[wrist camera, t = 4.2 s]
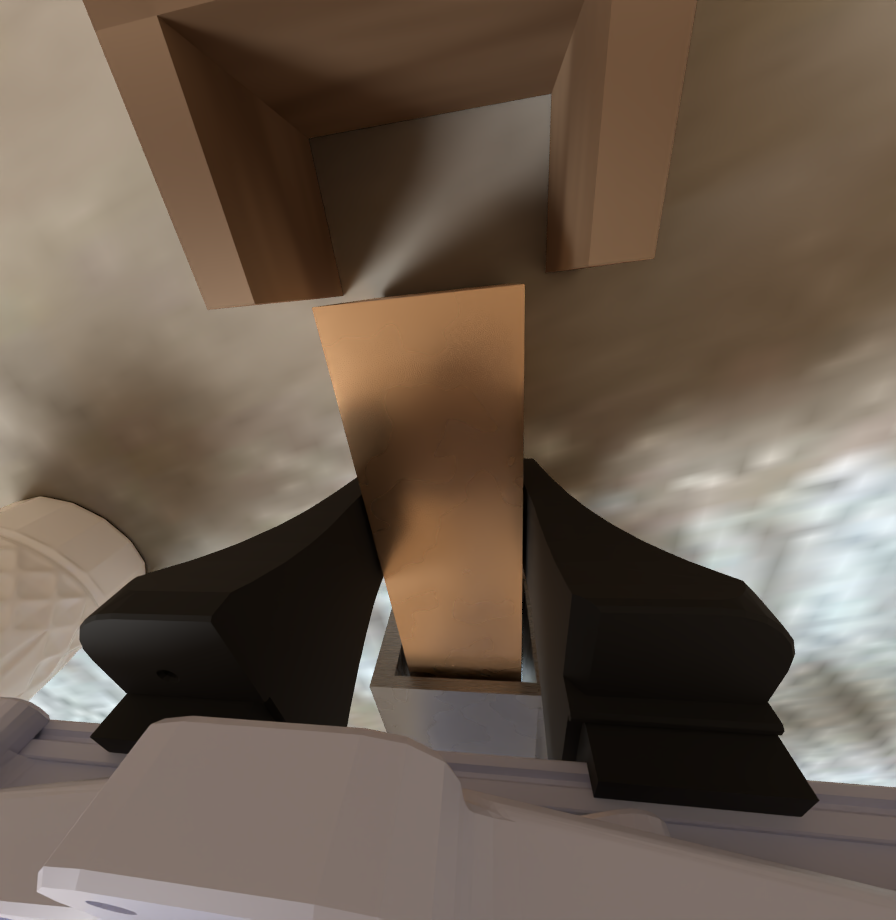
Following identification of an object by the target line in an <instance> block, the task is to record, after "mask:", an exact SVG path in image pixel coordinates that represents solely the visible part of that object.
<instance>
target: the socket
mask: <svg viewBox="0 0 896 920" xmlns="http://www.w3.org/2000/svg"><path fill="white" fill-rule="evenodd" d="M83 2H84V5H85V7H86V10H87V12H88V15H89V17H90V20H91V22H92V25H93V27H94V30H95V32H96V35H97V37H98V40H99V42H100V45H101V47H102V49H103V52H104V54H105V57H106V59H107V62H108V64H109V67H110V69H111V72H112V74H113V77H114V79H115V82H116V84H117V87H118V89H119V92H120V94H121V97H122V99H123V101H124V104H125V106H126V109H127V111H128V114H129V116H130V119H131V121H132V124H133V126H134V129H135V131H136V134H137V136H138V139H139V141H140V144H141V146H142V148H143V151H144V153H145V156H146V158H147V161H148V163H149V166H150V168H151V171H152V173H153V176H154V178H155V181H156V183H157V186H158V188H159V191H160V193H161V196H162V198H163V200H164V203H165V205H166V208H167V210H168V213H169V215H170V218H171V220H172V223H173V225H174V228H175V230H176V233H177V235H178V238H179V240H180V243H181V245H182V247H183V250H184V252H185V255H186V257H187V260H188V262H189V265H190V267H191V270H192V272H193V275H194V277H195V280H196V282H197V285H198V287H199V290H200V292H201V295H202V297H203V299H204V302H205V304H206V307H207V309H208V310H210V309H220V308H230V307H240V306H250V305H260V304H270V303H280V302H290V301H300V300H310V299H320V298H328V297H337V296H343V292H342V287H341V283H340V278H339V274H338V269H337V265H336V260H335V256H334V251H333V247H332V242H331V238H330V234H329V229H328V225H327V220H326V216H325V211H324V207H323V202H322V198H321V193H320V189H319V184H318V180H317V175H316V171H315V166H314V162H313V157H312V153H311V148H310V144H309V139H308V138H313V137H319V136H324V135H330V134H335V133H340V132H346V131H351V130H357V129H362V128H368V127H373V126H378V125H384V124H389V123H395V122H400V121H405V120H411V119H416V118H422V117H427V116H432V115H438V114H443V113H449V112H454V111H459V110H465V109H470V108H476V107H481V106H486V105H492V104H497V103H503V102H508V101H514V100H519V99H524V98H530V97H535V96H541V95H546V94H551V93H552V96H551V125H550V154H549V183H548V212H547V241H546V270H545V273H548V272H557V271H565V270H574V269H583V268H590V267H597V266H604V265H612V264H619V263H626V262H633V261H640V260H647V259H654V257H655V251H656V245H657V239H658V233H659V227H660V221H661V215H662V209H663V203H664V197H665V191H666V185H667V179H668V173H669V167H670V161H671V155H672V149H673V143H674V137H675V131H676V125H677V119H678V113H679V107H680V101H681V95H682V89H683V83H684V77H685V71H686V65H687V59H688V53H689V47H690V41H691V35H692V29H693V23H694V17H695V11H696V5H697V0H83Z"/></svg>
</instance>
